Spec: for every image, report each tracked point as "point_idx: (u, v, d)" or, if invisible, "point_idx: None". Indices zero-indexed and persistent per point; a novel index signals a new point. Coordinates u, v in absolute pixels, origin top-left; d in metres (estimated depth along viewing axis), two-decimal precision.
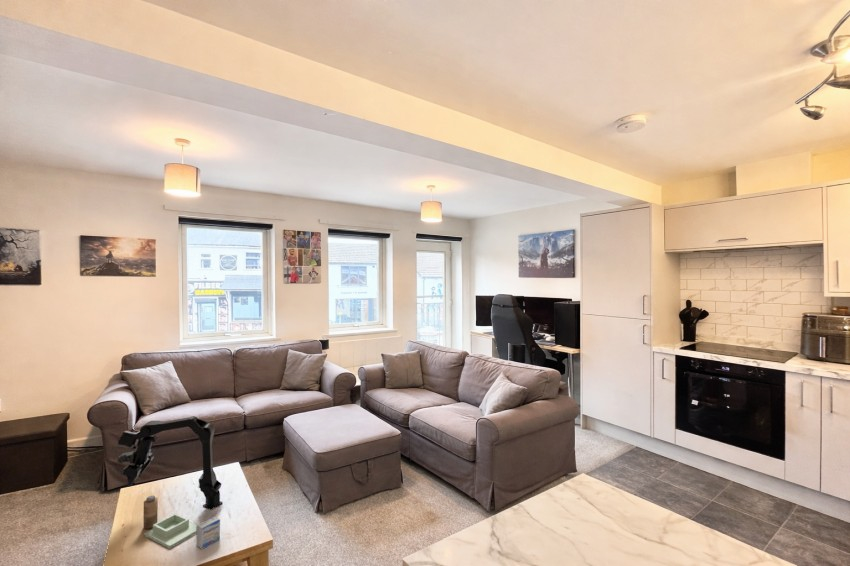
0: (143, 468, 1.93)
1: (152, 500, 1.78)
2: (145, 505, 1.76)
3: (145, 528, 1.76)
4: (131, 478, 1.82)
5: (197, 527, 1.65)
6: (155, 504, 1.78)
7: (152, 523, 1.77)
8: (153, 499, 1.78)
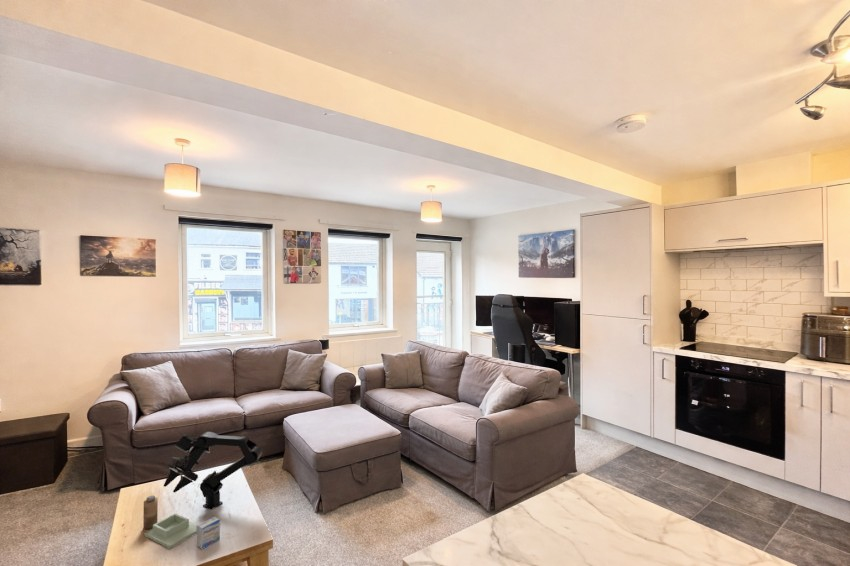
0: (172, 478, 1.90)
1: (152, 500, 1.78)
2: (145, 505, 1.76)
3: (145, 528, 1.76)
4: (182, 484, 1.84)
5: (197, 527, 1.65)
6: (155, 504, 1.78)
7: (152, 523, 1.77)
8: (153, 499, 1.78)
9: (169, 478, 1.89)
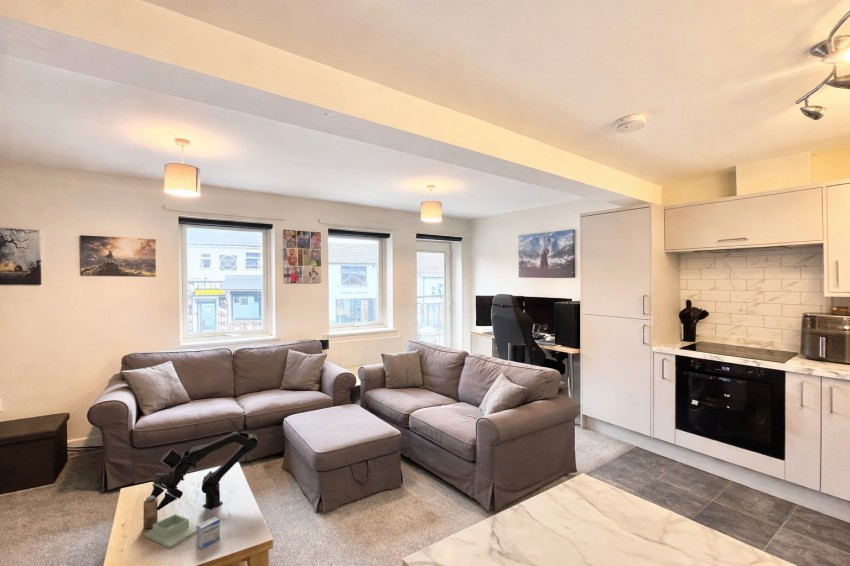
0: (157, 495, 1.85)
1: (152, 500, 1.78)
2: (145, 505, 1.76)
3: (145, 528, 1.76)
4: (166, 501, 1.79)
5: (197, 527, 1.65)
6: (155, 504, 1.78)
7: (152, 523, 1.77)
8: (153, 499, 1.78)
9: (153, 495, 1.84)
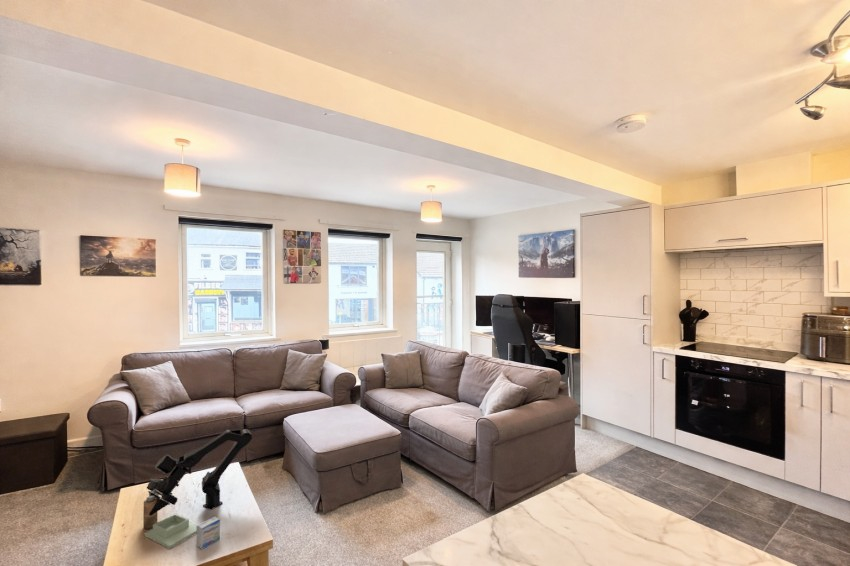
0: None
1: (152, 500, 1.77)
2: (145, 505, 1.76)
3: (145, 528, 1.76)
4: (159, 506, 1.78)
5: (197, 527, 1.65)
6: None
7: (152, 523, 1.77)
8: (153, 499, 1.78)
9: None
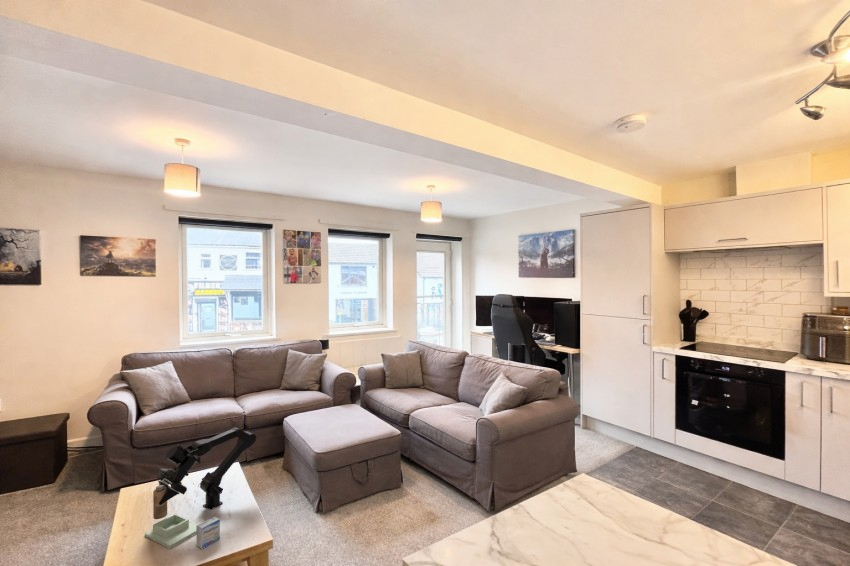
0: None
1: (162, 489, 1.76)
2: (155, 494, 1.74)
3: (155, 517, 1.74)
4: (168, 495, 1.76)
5: (197, 527, 1.65)
6: None
7: (162, 512, 1.75)
8: (162, 489, 1.76)
9: None
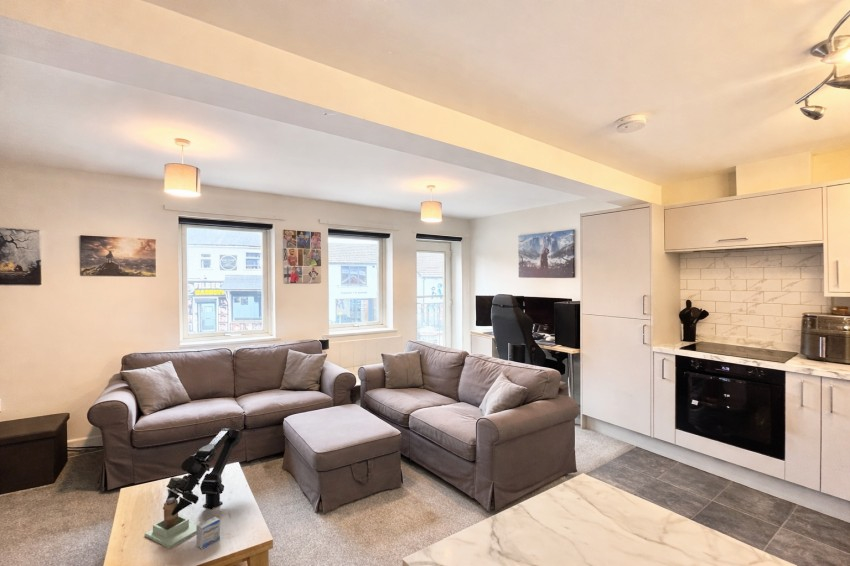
0: None
1: (172, 502, 1.74)
2: (165, 507, 1.72)
3: None
4: (181, 506, 1.74)
5: (197, 527, 1.65)
6: (175, 506, 1.74)
7: (173, 525, 1.73)
8: (173, 501, 1.74)
9: None
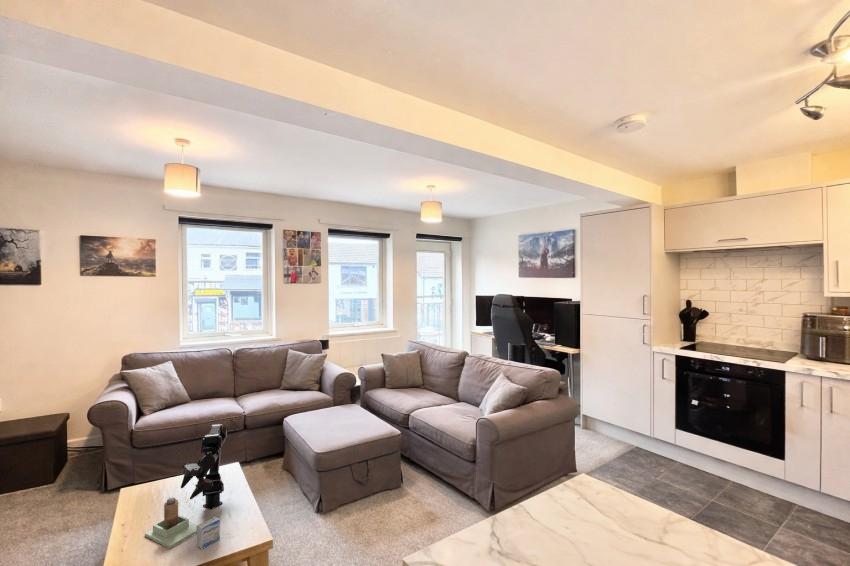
0: (189, 479, 1.89)
1: (173, 502, 1.74)
2: (166, 507, 1.72)
3: None
4: (198, 491, 1.82)
5: (197, 527, 1.65)
6: (176, 506, 1.74)
7: (173, 525, 1.73)
8: (174, 501, 1.74)
9: (185, 480, 1.87)
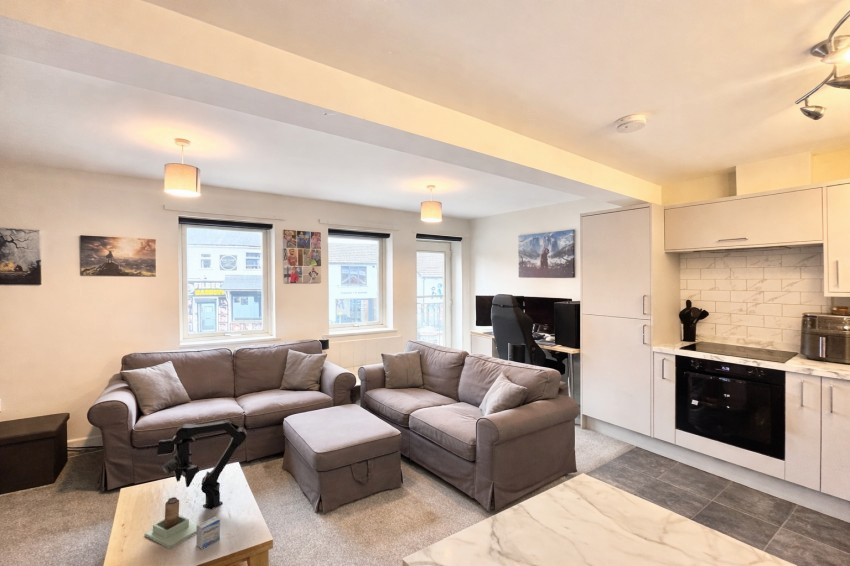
0: (180, 471, 1.94)
1: (174, 502, 1.74)
2: (167, 507, 1.72)
3: None
4: (189, 478, 1.88)
5: (197, 527, 1.65)
6: (177, 506, 1.75)
7: (174, 525, 1.73)
8: (175, 501, 1.75)
9: (177, 474, 1.93)
